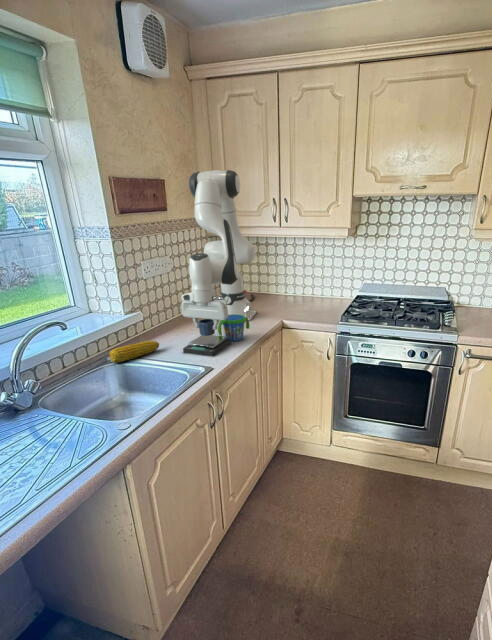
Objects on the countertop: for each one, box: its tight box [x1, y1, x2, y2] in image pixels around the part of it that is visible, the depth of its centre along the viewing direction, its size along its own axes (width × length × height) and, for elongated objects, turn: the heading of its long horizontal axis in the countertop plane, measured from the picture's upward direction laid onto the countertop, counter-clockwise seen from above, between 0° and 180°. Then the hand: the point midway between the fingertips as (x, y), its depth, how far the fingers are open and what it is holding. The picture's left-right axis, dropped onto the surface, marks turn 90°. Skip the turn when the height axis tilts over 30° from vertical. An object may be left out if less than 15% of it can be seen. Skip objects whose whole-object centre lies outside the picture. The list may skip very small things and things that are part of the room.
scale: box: [182, 339, 232, 357], centre depth 174 cm, size 16×14×3 cm
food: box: [108, 340, 160, 364], centre depth 165 cm, size 21×6×6 cm, turn 141°
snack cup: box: [217, 314, 251, 342], centre depth 182 cm, size 16×10×10 cm
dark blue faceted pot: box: [198, 319, 216, 336], centre depth 171 cm, size 6×6×5 cm
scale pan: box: [187, 334, 228, 348], centre depth 174 cm, size 13×12×1 cm
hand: (206, 328), depth 171 cm, fingers closed on dark blue faceted pot, 6 cm apart
